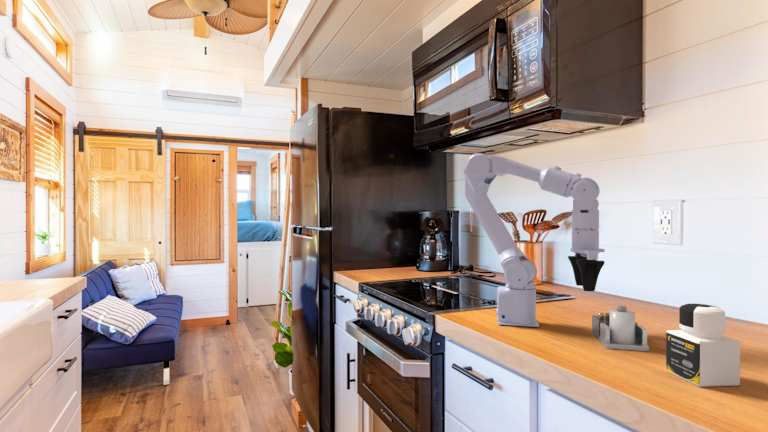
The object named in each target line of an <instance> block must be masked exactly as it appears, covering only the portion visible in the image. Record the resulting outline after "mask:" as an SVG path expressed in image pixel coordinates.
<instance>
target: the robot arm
mask: <svg viewBox="0 0 768 432" xmlns="http://www.w3.org/2000/svg"><path fill="white" fill-rule="evenodd" d="M463 175H464V196H465V199H466V200H467V202H468V203H469V206H470V207H471V209H472V211H473V212H474V215H475V216H476V218H477V219H478V221H479V223H480V224H481V226H482V228H483V229H484V231H485V233H486V235H487V237H488V238H489V240H490V242H491V243H492V245H493V247H494V249H495V251H496V253H497V254H498V255H499V261H500V262H499V263H500V266H501V267H502V269H503V277H504V280H505V282H506V283H505V286H497V296H496V297H497V300H496V302H497V306H496V309H495V313H496V315H495V316H496V318H497V319H496V320H497V325H500V326H514V327H515V326H517V327H532V328H533V327H536V328H539V327H540V324H539V322H538V321H537V316H536V315H537V309H536V308H537V300H536V299H537V289H536V288H537V285H536V284H535V283H534V280H535V278H536V277H537V273H538V270H537V266H536V264H535V263H534V262H533V261H532V260H530V259H529V258H527V256H526V255H525V253H524V252H523V251H522V250H521V249H520V248H519V247H518V246H517V243H516V241H515V240H514V238H513V237H512V235H511V233H510V231H509V230H508V229H507V228H508V227H506V225H505V223H504V222H503V220H502V218H501V217H500V215H499V213H498V212H497V210H496V208H495V206H494V204H493V202H492V201H491V200H490V198H489V197H488V192H489V188H490V186H491V184H492V182H493V181H494V180H495V179H496V178H497V176H499V177H503V176H506V175H512V176H516V177H519V178H522V179H526V180H530V181H532V182H536V183H538V185H539V187H540V189H541V190H542V191H546V192H549V193H552V194H554V195H557V196H561V197H563V198H565V199H566V198H571V197H572V210H571V248H570V252H572V253H573V255H568V256H567V258H568V261H569V263H570V264H571V267H572V271H573V275H574V280H575V284H576V286H581V287H582V289H583V291H585V292H595V290H596V286H597V283H598V278H599V275H600V272H601V269H602V268H603V266H604V265H605V261H604V260H599V253H605V250H606V249H604V248H600V210H599V204H600V203H599V202H600V201H599V200H598V197H599V196H600V191H601V190H600V187H599V185H598V183H597V182H596V181H595V180H594V179H592V178H590V177H582V174H581V173H578V172H577V173H576V174H574V173H572V172H567V171H564V170H563V169H562V168H561V167H560V166H557V165H556V166H554V167H551V166H549V167H547V168H544V169H539V168H536V167H534V166H531V165H528V164H524V163H521V162H519V161H515V160H512V159H510V158H507V157H503V156H497V155H492V154H491V155H489V154H488V155H486V154H485V153H481V152H477V153H473V154H472V155H469V157H468V158H467V160H466V163H465V166H464V167H463Z"/></svg>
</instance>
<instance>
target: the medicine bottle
mask: <svg viewBox="0 0 768 432" xmlns="http://www.w3.org/2000/svg"><path fill="white" fill-rule="evenodd" d="M665 334H666V335H665V336H666V337H665V338H666V339H665V345H666V346H665V352H666V353H665V355H666V356H665V357H666V358H665V370H666V372H668V373H670V374H672V375H674V376H676V377H678V378H680V379H681V380H685V381H686V382H688V383H691V384H692V385H695V386H696V387H699V388H702V387H704V388H706V387H710V388H711V387H732V386H733V387H735V386H736V387H738V386H740V384H741V342H740V340H738V339H735V338H732V337H729V336H725V334H726V312H725V311H724V310H723V309H722V308H720V307H717V306H716V305H712V304H711V305H710V304H704V303H703V304H702V303H686V304H683V305H681V306H679V329H668V330H666V333H665Z"/></svg>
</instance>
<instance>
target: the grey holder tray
mask: <svg viewBox="0 0 768 432" xmlns="http://www.w3.org/2000/svg"><path fill="white" fill-rule="evenodd" d="M591 333H592V334H593V336H594V337H595V338H596V339H598V341H599V342H600V343H601V344H602V345H603V346H604V348H606V349H609V350H620V351H621V350H623V351H625V350H626V351H637V352H638V351H639V352H640V351H641V352H649V351H650V346H649V345H648V330H647V328H645V327H644V326H643V325H640V324H639V323H638V322H637V321H635V343H633V344H622V343H617V342H613V341H611V340H610V327H609V312H608V313H607V312H606V313H605V312H598V315H597V314H594V315H593V314H592V315H591Z"/></svg>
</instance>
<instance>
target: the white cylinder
mask: <svg viewBox="0 0 768 432" xmlns="http://www.w3.org/2000/svg"><path fill="white" fill-rule="evenodd" d="M608 313H609V327H610V340H611V341H613V342H617V343H622V344H633V343H635V322H636V312H635V311H633V310H630V309H628V307H627V306H626V305H618V306H617V308H613V309H612V308H611V309H609V312H608Z"/></svg>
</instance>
